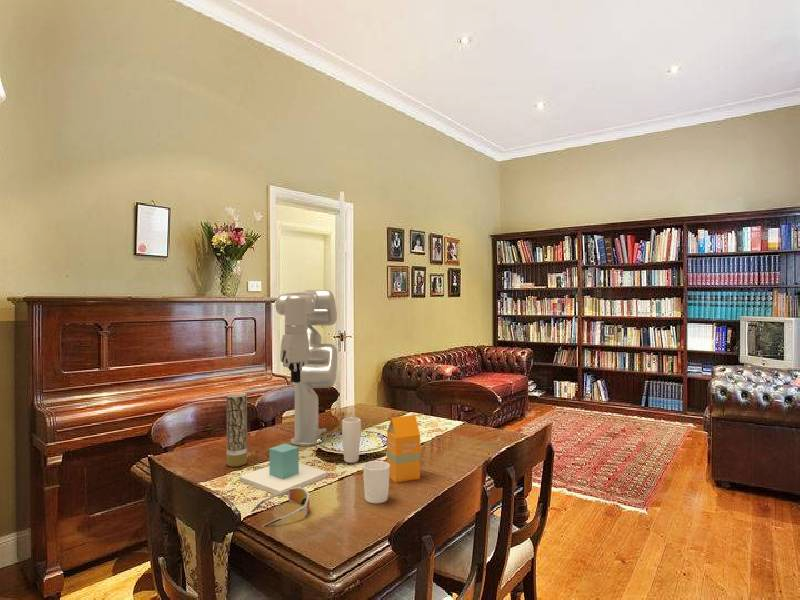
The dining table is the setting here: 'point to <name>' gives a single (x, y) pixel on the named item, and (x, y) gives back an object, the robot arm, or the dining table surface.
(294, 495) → the sunglasses
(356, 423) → the drinking glass
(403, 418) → the orange juice
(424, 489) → the dining table surface
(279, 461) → the mint green cube
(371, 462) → the white cup
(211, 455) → the dining table surface
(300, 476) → the post board
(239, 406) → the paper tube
